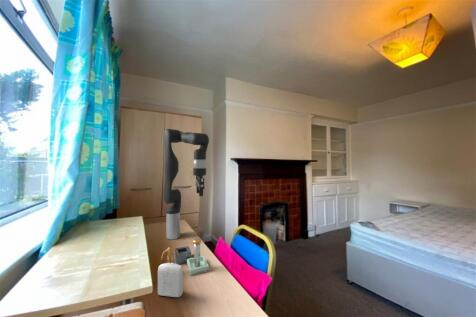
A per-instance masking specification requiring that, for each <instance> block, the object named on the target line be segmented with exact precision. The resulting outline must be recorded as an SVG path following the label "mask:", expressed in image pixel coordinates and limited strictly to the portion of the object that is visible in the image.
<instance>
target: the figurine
mask: <svg viewBox="0 0 476 317" xmlns="http://www.w3.org/2000/svg"><path fill="white" fill-rule="evenodd" d="M174 250H176V249H174V247H170V246H168V247H167V249H165V250H164V251H163V252H162V254H161V257H160V259H161V260H163V256H164V254H165V253H166V252H167V257H166V258H167V263H173V261H174V253H172V252H173V251H174ZM176 252H177V250H176ZM177 253H178V252H177ZM178 255H179V253H178ZM170 259H171V261H170Z"/></svg>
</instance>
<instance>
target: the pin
mask: <svg viewBox="0 0 476 317" xmlns="http://www.w3.org/2000/svg"><path fill="white" fill-rule="evenodd" d="M192 243H193V256H194V257H193V258H194V267H196V268H197V267H200V256H201V243H202V239H201V238H194V239H193V240H192Z"/></svg>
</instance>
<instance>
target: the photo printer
mask: <svg viewBox="0 0 476 317" xmlns="http://www.w3.org/2000/svg"><path fill="white" fill-rule="evenodd" d="M183 269H184V267H183V266H182V265H181V264H175V262H172V263H171V262H169V263H168V262H166V263H161V264H160V265H159V266H158V268H157V295H158V296H164V297H172V298H181V296H182V295H183V290H184V283H183V282H184V275H183V274H184V270H183Z"/></svg>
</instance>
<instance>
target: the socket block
mask: <svg viewBox="0 0 476 317" xmlns="http://www.w3.org/2000/svg"><path fill="white" fill-rule="evenodd" d="M173 249H176V250H177V252H178V253H179V255H178V253H177V252H176V250H173V259H174V263H175V264H178V265H181V264H185V263H186V264H187V259H189V258H192V250H191V249H190V246H189V245H186V246H181V247H176V248H174V247H173Z"/></svg>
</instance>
